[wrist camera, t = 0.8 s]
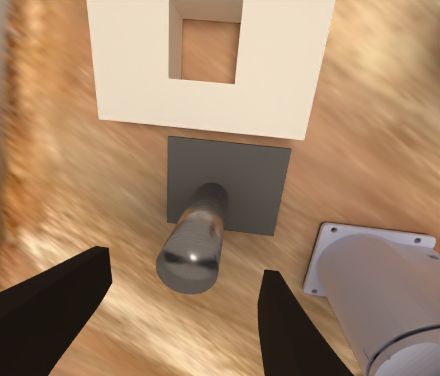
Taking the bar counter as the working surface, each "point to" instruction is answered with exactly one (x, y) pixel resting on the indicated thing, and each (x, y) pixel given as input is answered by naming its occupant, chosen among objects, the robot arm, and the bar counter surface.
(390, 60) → the bar counter surface
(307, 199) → the bar counter surface
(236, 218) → the mat
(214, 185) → the peg
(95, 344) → the bar counter surface
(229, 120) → the block
